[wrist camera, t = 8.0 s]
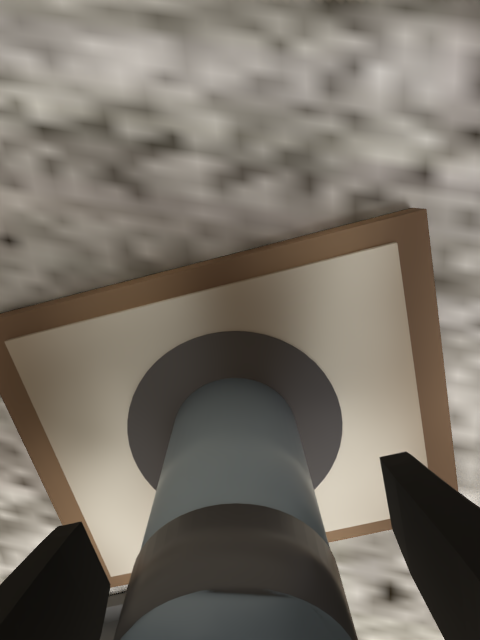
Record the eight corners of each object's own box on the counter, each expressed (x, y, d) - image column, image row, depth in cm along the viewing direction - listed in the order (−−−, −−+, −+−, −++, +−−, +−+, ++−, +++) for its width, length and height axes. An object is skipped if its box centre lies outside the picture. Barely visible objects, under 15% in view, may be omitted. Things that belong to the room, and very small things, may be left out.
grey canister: (309, 471, 14) (382, 740, 7) (192, 497, 14) (152, 781, 7) (282, 362, 12) (339, 559, 6) (155, 393, 13) (66, 616, 6)
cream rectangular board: (411, 208, 12) (431, 209, 11) (447, 495, 15) (465, 521, 14) (-13, 316, 13) (-39, 329, 12) (102, 568, 16) (91, 598, 15)
